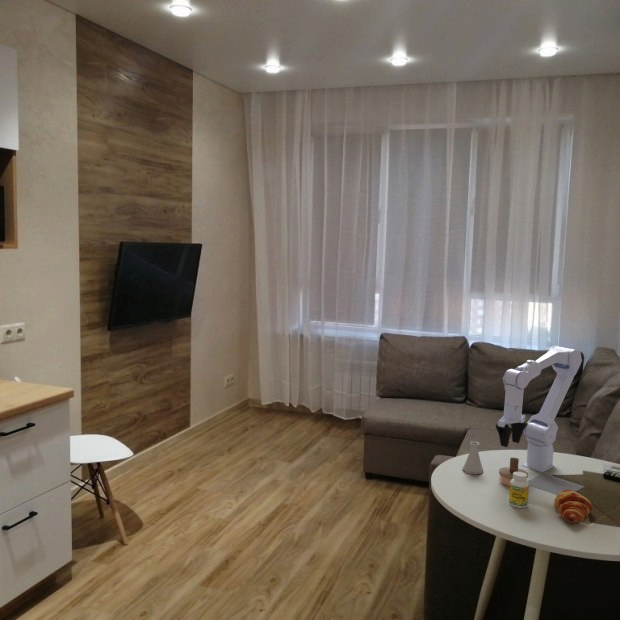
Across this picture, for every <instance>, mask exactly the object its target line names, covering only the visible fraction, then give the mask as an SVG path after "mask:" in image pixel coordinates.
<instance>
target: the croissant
mask: <svg viewBox="0 0 620 620" xmlns="http://www.w3.org/2000/svg"><path fill="white" fill-rule="evenodd" d="M554 506H555V508H556V509H555V510H556V512H557V513H558V514H559V515H560V516H561V517H562V518H563V519H564V520H565V521H566V522H568V523H573V524H574V523H581V522H583V521H584V520H585V519H587V517H588V516H589V514H590V513H591V512H592V510H593V504H592V503H591V501H590V500H589V499H588V498H587V497H586V496H583V495H582V494H580V493H579V492H577V491H576V492H575V491H572V490H563V492H561V493H559V494H558V495H556V496H555V499H554Z"/></svg>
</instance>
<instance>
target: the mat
mask: <svg viewBox="0 0 620 620" xmlns="http://www.w3.org/2000/svg"><path fill="white" fill-rule="evenodd" d="M527 481H528V483H529V487H533V488H536V489H538V490H541V491H545V492H547V493H551V494H554V495H556V496H557V495H558V494H559V493H561V492H563V490H572V491H575V492H577V491H579V490H581V489H583V488H585V485H581V484H579V483H575V482H573V481H569V480H566V479H563V478H559V477H556V476H554V475H550V474H547V473H542V474H540V475H538V476H535V477H533V478H531V479H530V480H527Z"/></svg>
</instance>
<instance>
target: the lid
mask: <svg viewBox="0 0 620 620" xmlns="http://www.w3.org/2000/svg"><path fill="white" fill-rule="evenodd" d="M519 462H520V459H519V458H517V457H510V459H509V466H505V467H504V466H503V467H500V468H499V470H498V474H499V476H500V475H501V476H503V477H505V478H509V479H513V473H514V472H523V473H526V474H527V479H528V477H529V473H528V472H527V471H526V470H524V469H521V468H519Z"/></svg>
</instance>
